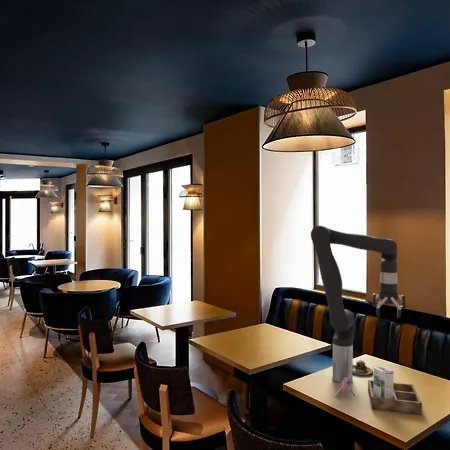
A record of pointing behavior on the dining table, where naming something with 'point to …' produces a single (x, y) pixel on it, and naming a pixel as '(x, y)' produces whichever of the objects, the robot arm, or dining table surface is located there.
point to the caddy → (397, 399)
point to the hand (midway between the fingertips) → (388, 316)
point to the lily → (345, 385)
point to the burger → (361, 368)
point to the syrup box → (383, 382)
